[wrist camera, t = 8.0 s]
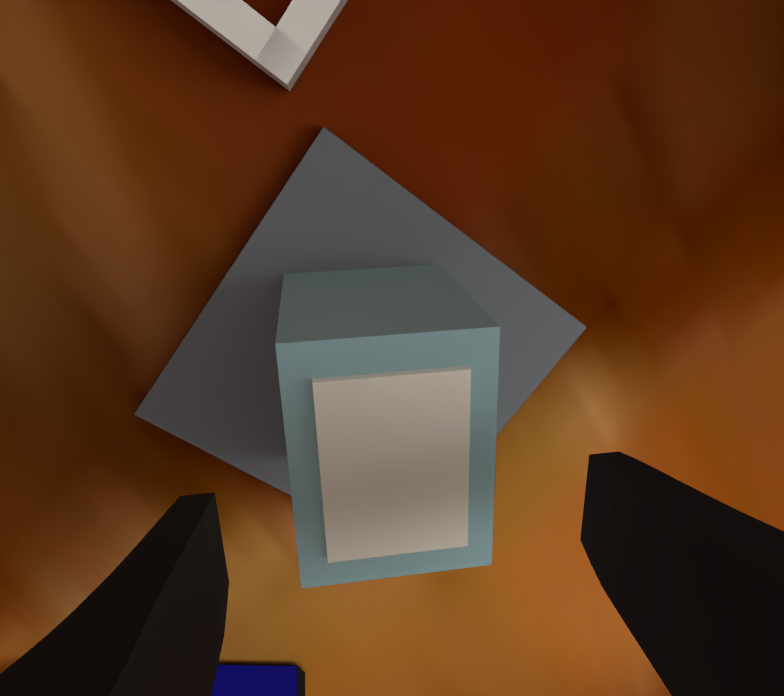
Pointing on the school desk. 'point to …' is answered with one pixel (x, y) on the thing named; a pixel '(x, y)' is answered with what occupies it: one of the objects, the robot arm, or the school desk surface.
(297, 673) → the puzzle cube
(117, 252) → the school desk surface
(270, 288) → the charcoal mat
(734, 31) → the school desk surface
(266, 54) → the parts bin
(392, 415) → the teal labelled box
